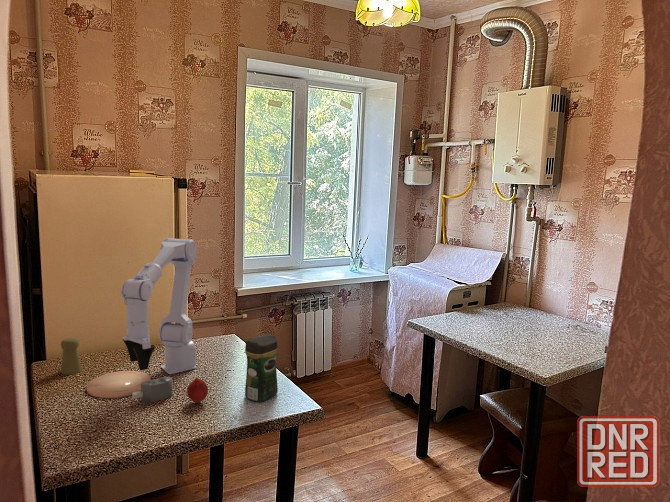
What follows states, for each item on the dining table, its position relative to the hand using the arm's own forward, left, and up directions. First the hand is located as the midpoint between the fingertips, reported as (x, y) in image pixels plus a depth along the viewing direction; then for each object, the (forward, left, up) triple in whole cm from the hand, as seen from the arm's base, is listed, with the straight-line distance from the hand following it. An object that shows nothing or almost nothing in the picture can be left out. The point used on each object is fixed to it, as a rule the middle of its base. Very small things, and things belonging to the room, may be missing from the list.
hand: (139, 365), depth 140 cm
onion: (-12, +14, -10) cm, 21 cm away
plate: (+2, -11, -10) cm, 15 cm away
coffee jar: (-29, +21, -10) cm, 37 cm away
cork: (+11, -31, -10) cm, 34 cm away
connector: (-2, +4, -10) cm, 11 cm away
